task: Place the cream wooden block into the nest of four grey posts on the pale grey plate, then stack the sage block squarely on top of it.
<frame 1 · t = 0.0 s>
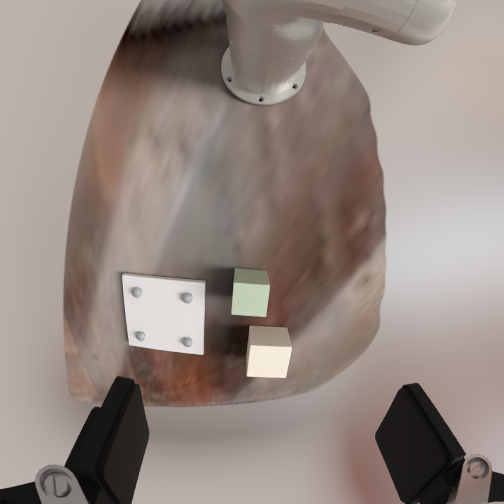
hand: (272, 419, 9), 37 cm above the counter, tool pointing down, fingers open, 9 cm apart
cream block: (266, 341, 50), on the counter
sage block: (249, 283, 47), on the counter
plate: (164, 314, 48), on the counter
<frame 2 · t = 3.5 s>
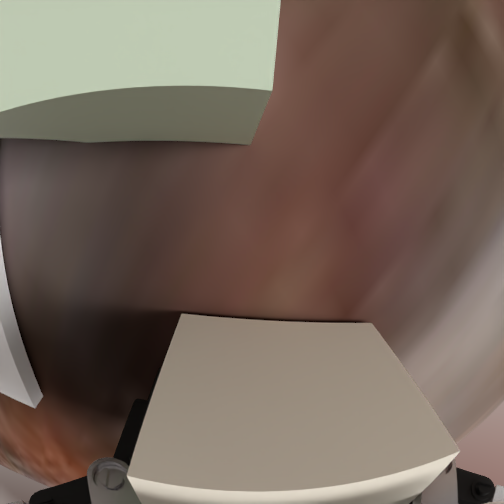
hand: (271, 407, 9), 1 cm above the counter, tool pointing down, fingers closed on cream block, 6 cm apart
cream block: (269, 392, 10), on the counter, touching gripper
sage block: (173, 61, 7), on the counter
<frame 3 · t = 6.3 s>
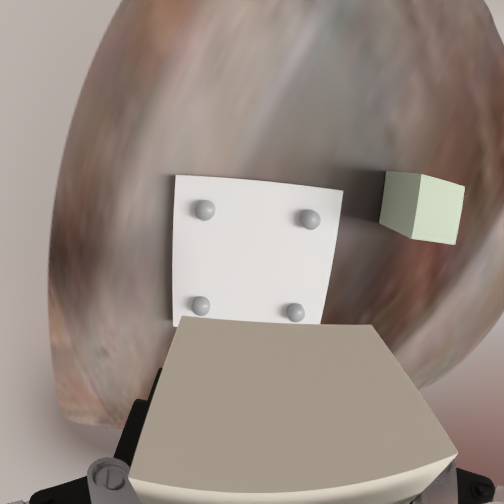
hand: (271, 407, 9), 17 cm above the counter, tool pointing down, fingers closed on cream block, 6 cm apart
cream block: (269, 393, 10), point 17 cm above the counter, touching gripper
sage block: (404, 201, 25), on the counter
plate: (252, 259, 26), on the counter
when the fingers open (3 cm above the counter, at t = 9.4 s): cream block drops 1 cm, resting on plate.
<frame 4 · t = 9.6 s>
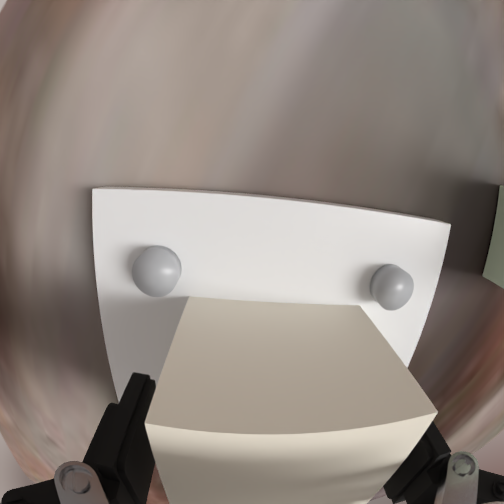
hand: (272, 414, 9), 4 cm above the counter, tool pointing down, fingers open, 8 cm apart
cream block: (268, 370, 11), point 1 cm above the counter, touching plate
plate: (265, 357, 12), on the counter
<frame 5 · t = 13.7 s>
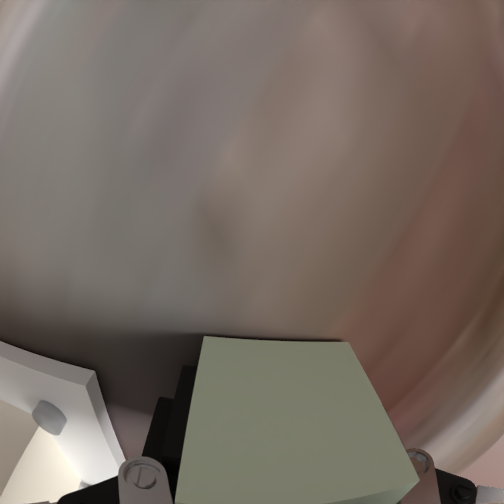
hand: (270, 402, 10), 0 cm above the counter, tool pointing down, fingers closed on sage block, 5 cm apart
cream block: (23, 436, 10), point 1 cm above the counter, touching plate
sage block: (269, 393, 10), on the counter, touching gripper
plate: (29, 426, 11), on the counter
when the fingers open (9 cm above the counter, at t = 18.6 s): sage block drops 1 cm, resting on cream block.
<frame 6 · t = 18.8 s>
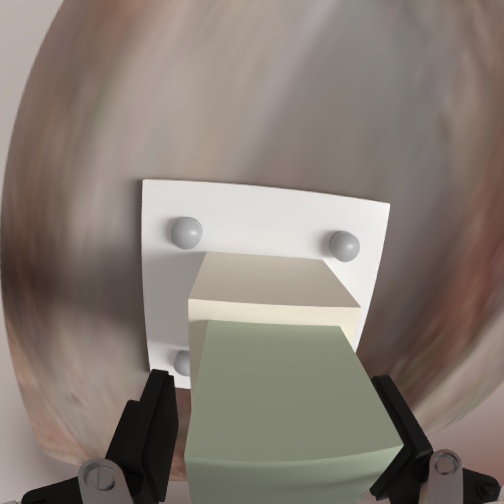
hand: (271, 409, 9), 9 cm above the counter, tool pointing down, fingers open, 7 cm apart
cream block: (260, 308, 17), point 1 cm above the counter, touching plate, sage block
sage block: (268, 374, 11), point 7 cm above the counter, touching cream block
plate: (258, 301, 18), on the counter
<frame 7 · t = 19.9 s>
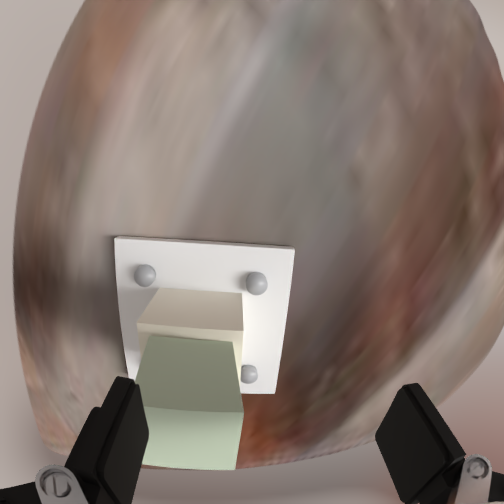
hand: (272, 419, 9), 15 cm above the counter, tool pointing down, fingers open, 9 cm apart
cream block: (200, 327, 23), point 1 cm above the counter, touching plate, sage block
sage block: (189, 371, 17), point 7 cm above the counter, tilted 5°, touching cream block
plate: (200, 321, 24), on the counter
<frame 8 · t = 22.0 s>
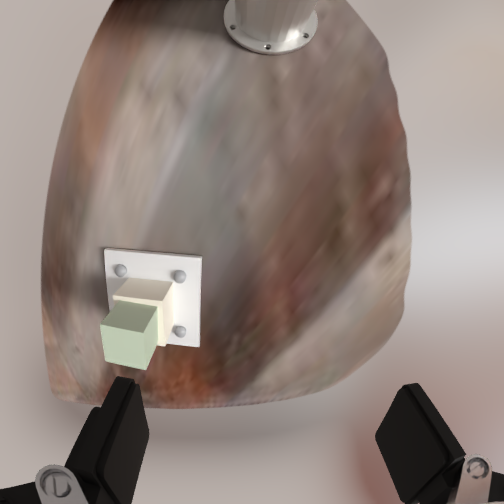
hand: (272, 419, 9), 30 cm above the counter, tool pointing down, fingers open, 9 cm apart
cream block: (151, 300, 39), point 1 cm above the counter, touching plate, sage block
sage block: (139, 321, 33), point 7 cm above the counter, touching cream block
plate: (153, 298, 40), on the counter
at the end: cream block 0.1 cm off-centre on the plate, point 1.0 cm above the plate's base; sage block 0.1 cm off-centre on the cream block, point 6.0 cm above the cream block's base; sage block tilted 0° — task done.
